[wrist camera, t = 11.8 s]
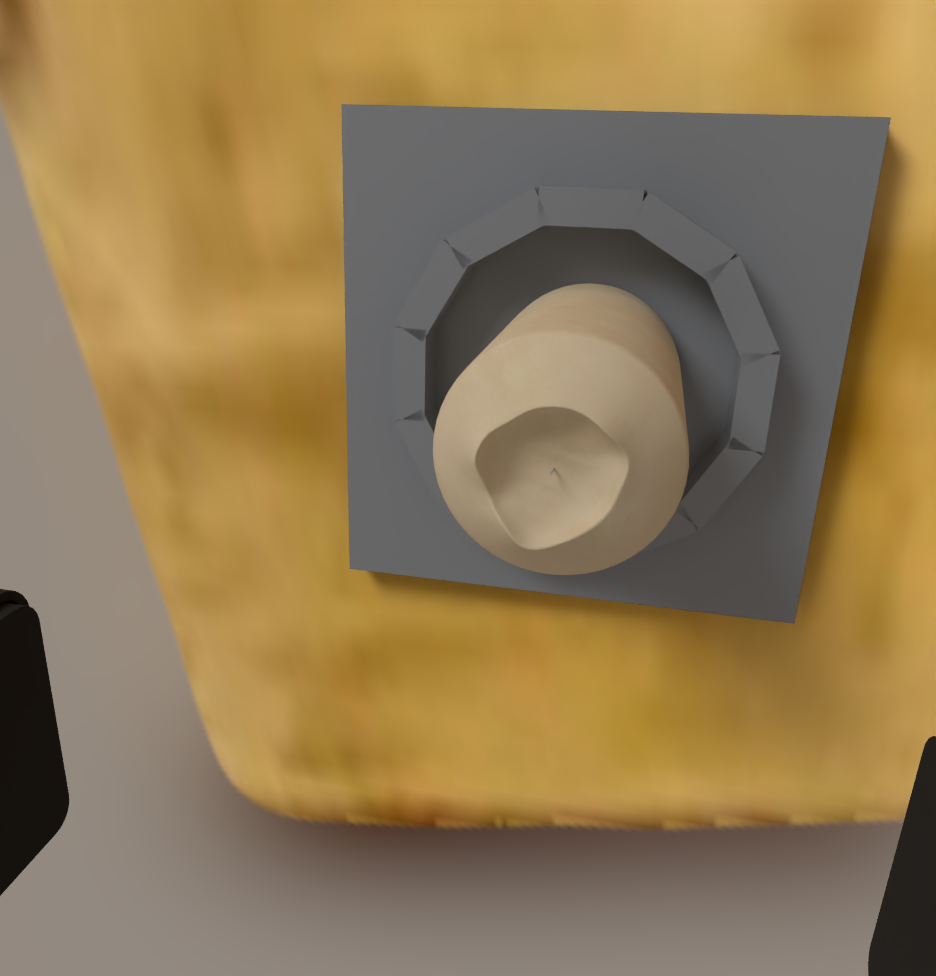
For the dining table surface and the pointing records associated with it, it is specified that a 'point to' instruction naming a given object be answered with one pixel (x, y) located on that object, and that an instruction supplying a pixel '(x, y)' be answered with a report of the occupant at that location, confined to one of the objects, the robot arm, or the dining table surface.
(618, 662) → the dining table surface
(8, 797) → the robot arm
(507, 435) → the candle
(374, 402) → the candle dish
